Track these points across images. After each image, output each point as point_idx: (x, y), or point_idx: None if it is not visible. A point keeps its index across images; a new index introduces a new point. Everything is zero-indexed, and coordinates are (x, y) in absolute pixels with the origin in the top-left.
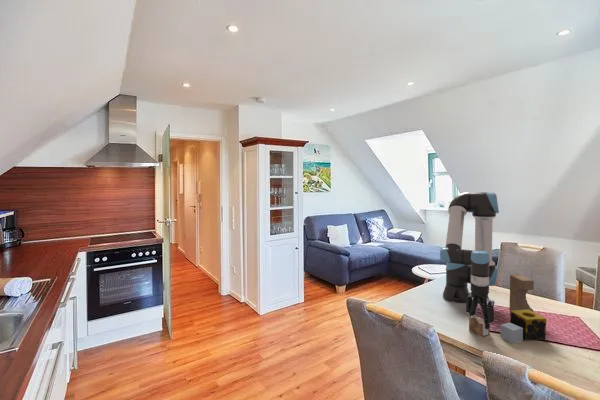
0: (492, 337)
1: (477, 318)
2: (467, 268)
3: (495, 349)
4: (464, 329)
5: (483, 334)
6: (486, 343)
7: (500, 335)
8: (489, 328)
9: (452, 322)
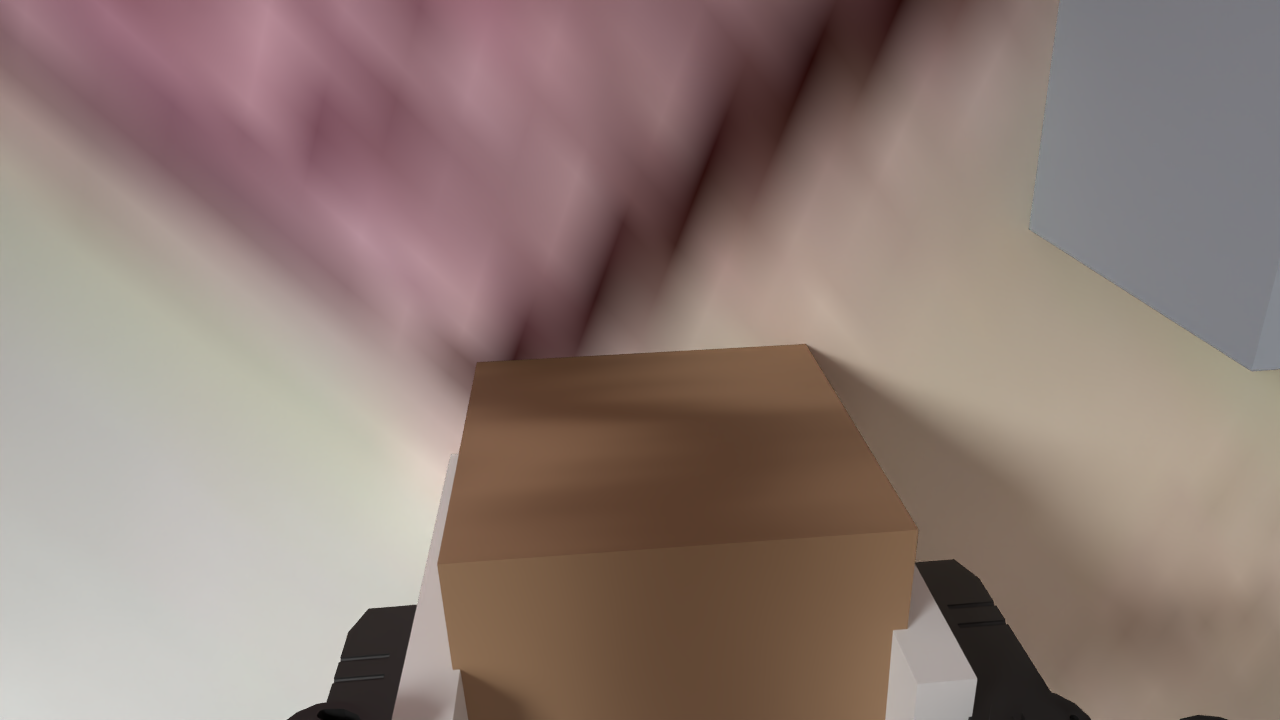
0: (942, 404)
1: (548, 690)
2: None
3: (1239, 686)
4: None
5: None
6: None
7: (1054, 242)
8: (847, 418)
9: (36, 676)
